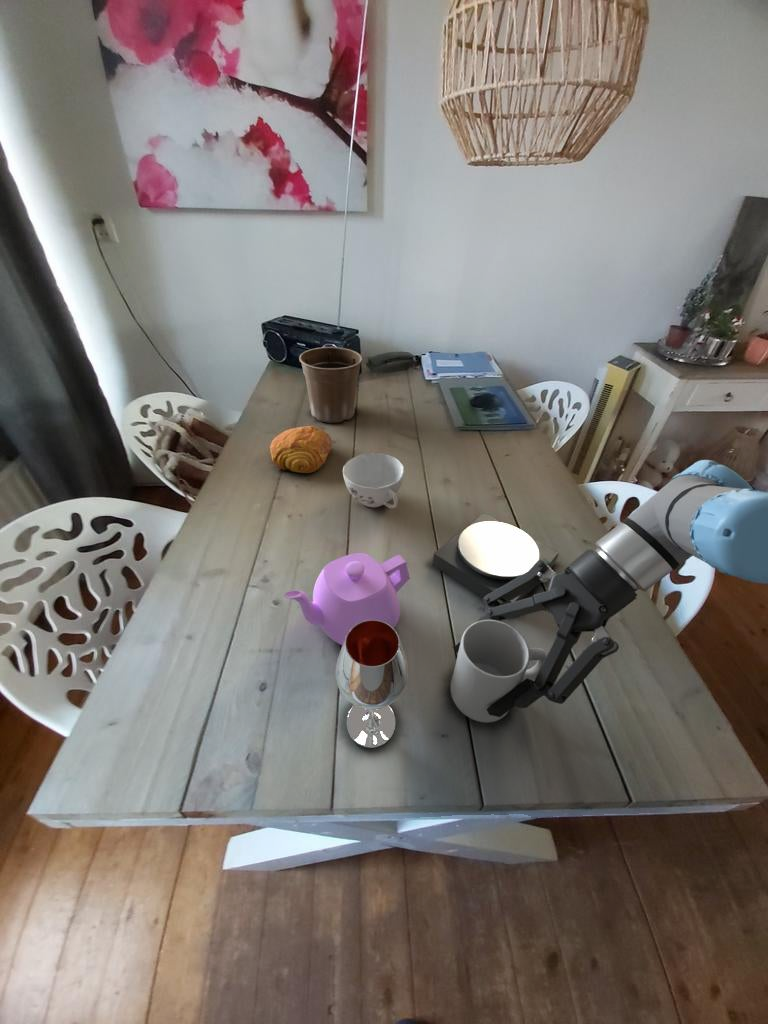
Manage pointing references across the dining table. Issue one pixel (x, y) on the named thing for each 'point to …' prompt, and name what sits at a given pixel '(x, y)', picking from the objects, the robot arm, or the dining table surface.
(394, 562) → the teapot
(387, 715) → the wineglass
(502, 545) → the scale pan
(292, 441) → the croissant
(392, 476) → the teacup
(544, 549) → the scale
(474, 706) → the mug
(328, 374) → the plant pot
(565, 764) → the dining table surface
